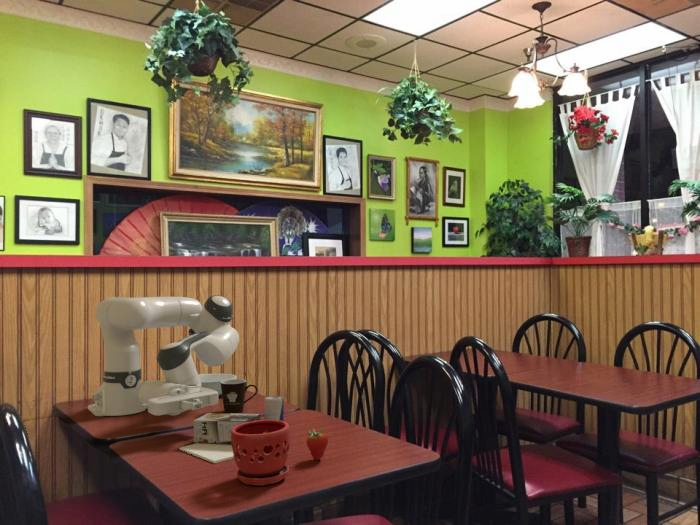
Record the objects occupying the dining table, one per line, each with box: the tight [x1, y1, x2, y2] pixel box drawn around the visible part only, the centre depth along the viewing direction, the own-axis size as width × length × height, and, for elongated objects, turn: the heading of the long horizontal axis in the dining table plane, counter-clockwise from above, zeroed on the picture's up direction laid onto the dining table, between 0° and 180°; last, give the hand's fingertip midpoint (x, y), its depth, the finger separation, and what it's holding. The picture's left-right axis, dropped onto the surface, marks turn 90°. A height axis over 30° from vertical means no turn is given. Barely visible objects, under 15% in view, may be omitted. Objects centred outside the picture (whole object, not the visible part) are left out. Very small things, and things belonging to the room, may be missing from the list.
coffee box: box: [193, 412, 261, 444], centre depth 165 cm, size 9×6×16 cm
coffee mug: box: [221, 378, 258, 414], centre depth 202 cm, size 12×9×10 cm
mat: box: [178, 443, 239, 464], centre depth 158 cm, size 17×14×1 cm
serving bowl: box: [198, 373, 237, 397], centre depth 231 cm, size 21×21×7 cm
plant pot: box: [231, 419, 291, 487], centre depth 135 cm, size 13×13×12 cm
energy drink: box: [263, 395, 285, 433], centre depth 166 cm, size 5×5×12 cm
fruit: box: [305, 427, 329, 461], centre depth 149 cm, size 5×5×8 cm
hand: (198, 406), depth 166 cm, fingers closed
